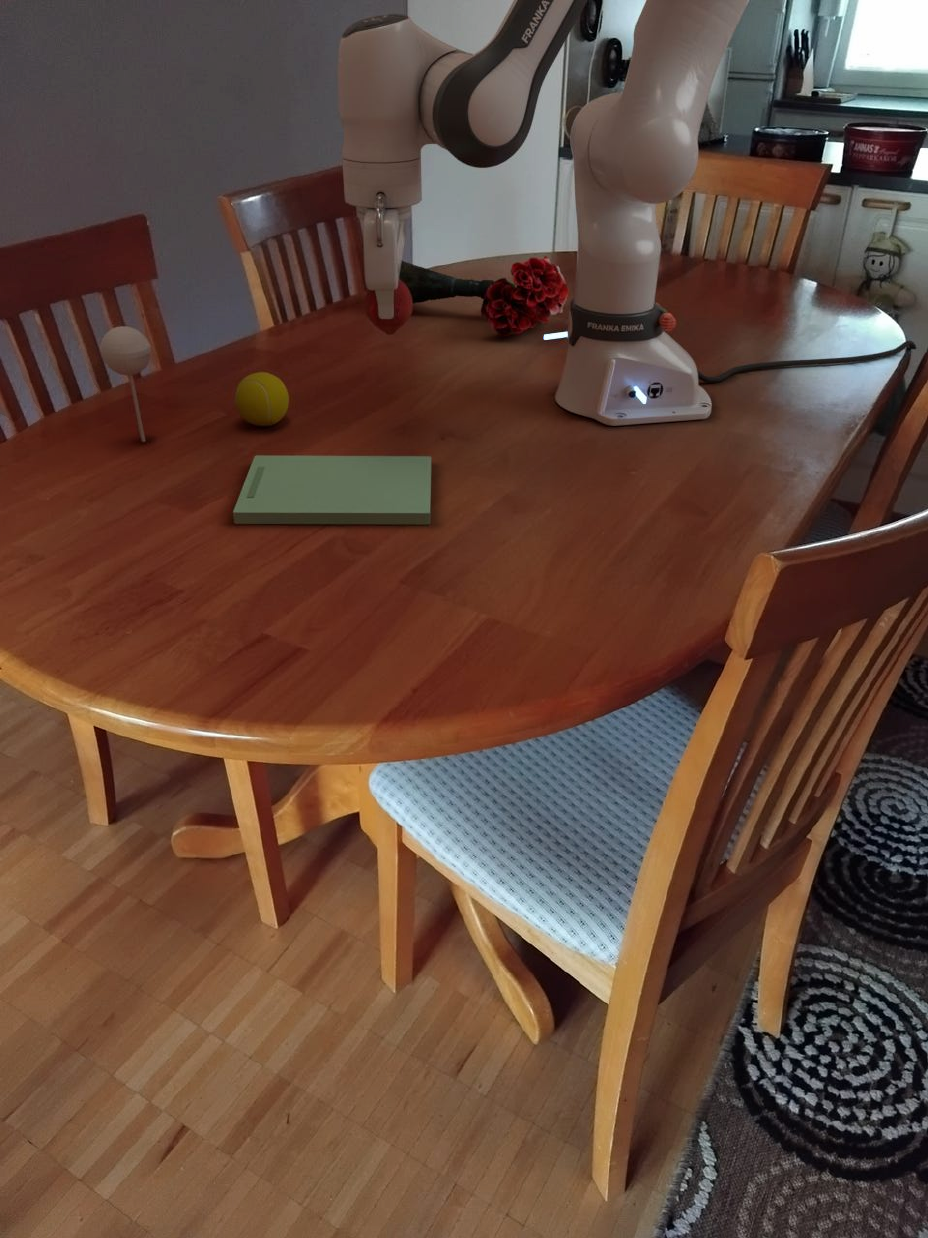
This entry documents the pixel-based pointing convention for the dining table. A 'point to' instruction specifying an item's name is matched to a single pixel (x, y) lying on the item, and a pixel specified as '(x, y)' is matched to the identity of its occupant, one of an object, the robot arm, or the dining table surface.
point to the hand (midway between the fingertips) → (388, 307)
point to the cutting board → (336, 490)
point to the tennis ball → (262, 399)
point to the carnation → (498, 293)
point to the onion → (401, 309)
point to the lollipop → (127, 357)
